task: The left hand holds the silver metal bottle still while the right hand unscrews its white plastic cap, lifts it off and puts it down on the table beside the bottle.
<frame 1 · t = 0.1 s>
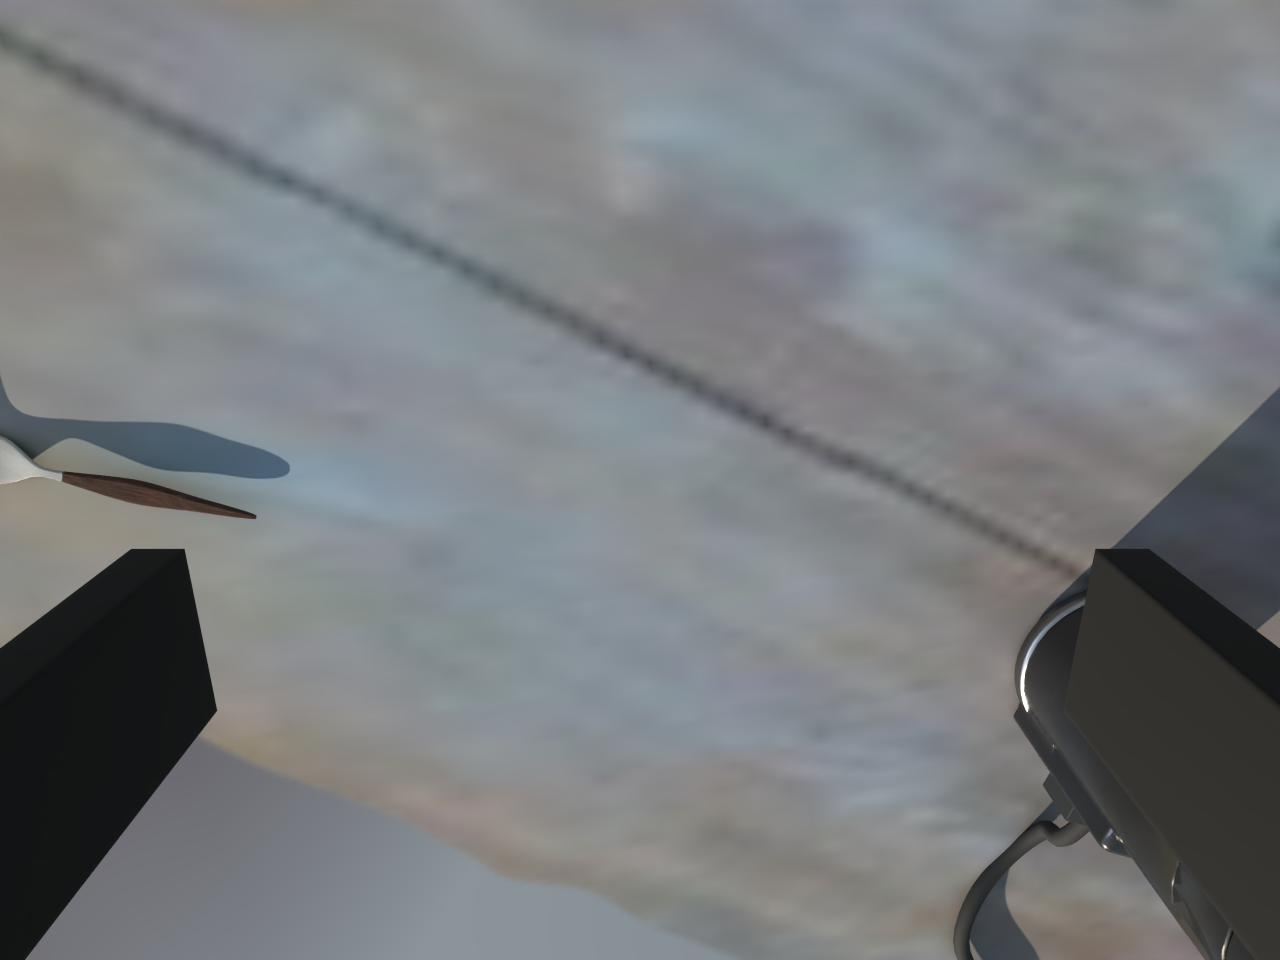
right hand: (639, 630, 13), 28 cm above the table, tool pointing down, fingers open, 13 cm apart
fork: (96, 476, 42), on the table
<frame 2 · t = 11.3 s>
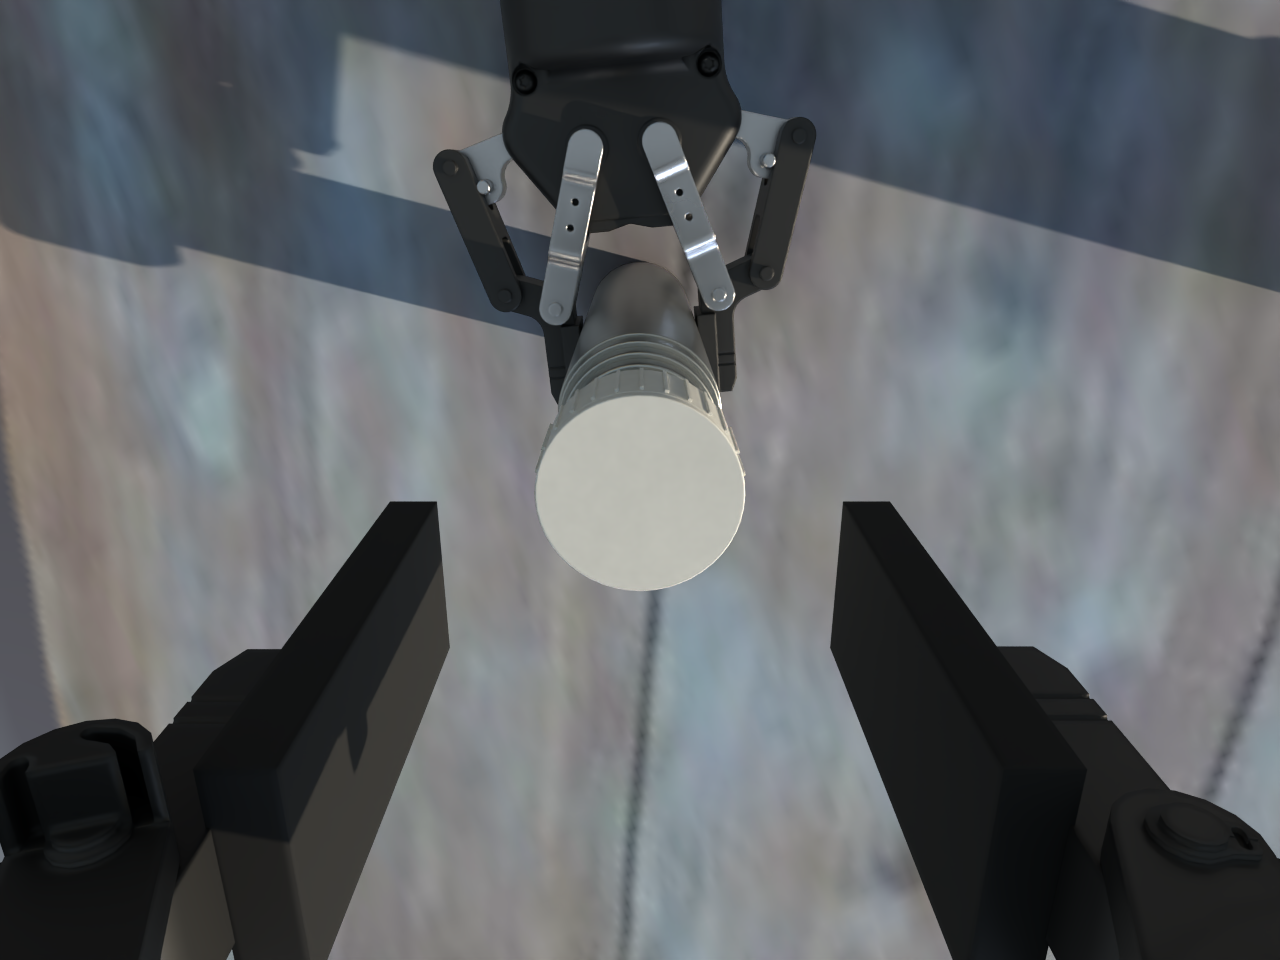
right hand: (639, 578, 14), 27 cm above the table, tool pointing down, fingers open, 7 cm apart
left hand: (646, 405, 34), fingers closed on bottle, 4 cm apart
bottle: (640, 311, 40), on the table, touching left hand
cap: (639, 492, 18), point 23 cm above the table, screwed on, not yet turned
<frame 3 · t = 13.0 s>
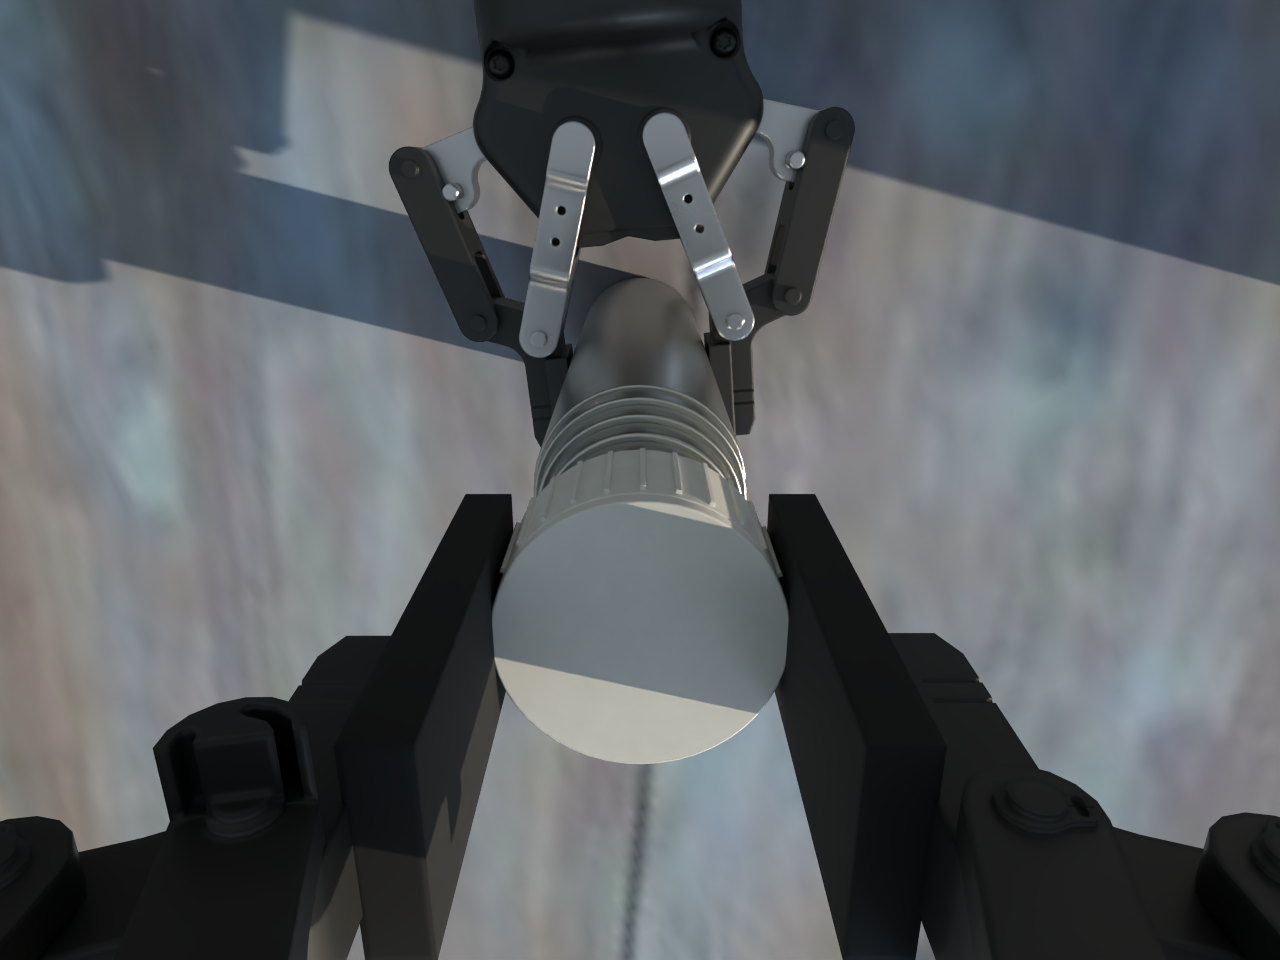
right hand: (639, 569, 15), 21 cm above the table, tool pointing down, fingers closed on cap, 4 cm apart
left hand: (647, 450, 29), fingers closed on bottle, 4 cm apart
bottle: (640, 334, 34), on the table, touching left hand
cap: (640, 630, 13), point 23 cm above the table, screwed on, not yet turned, touching right hand
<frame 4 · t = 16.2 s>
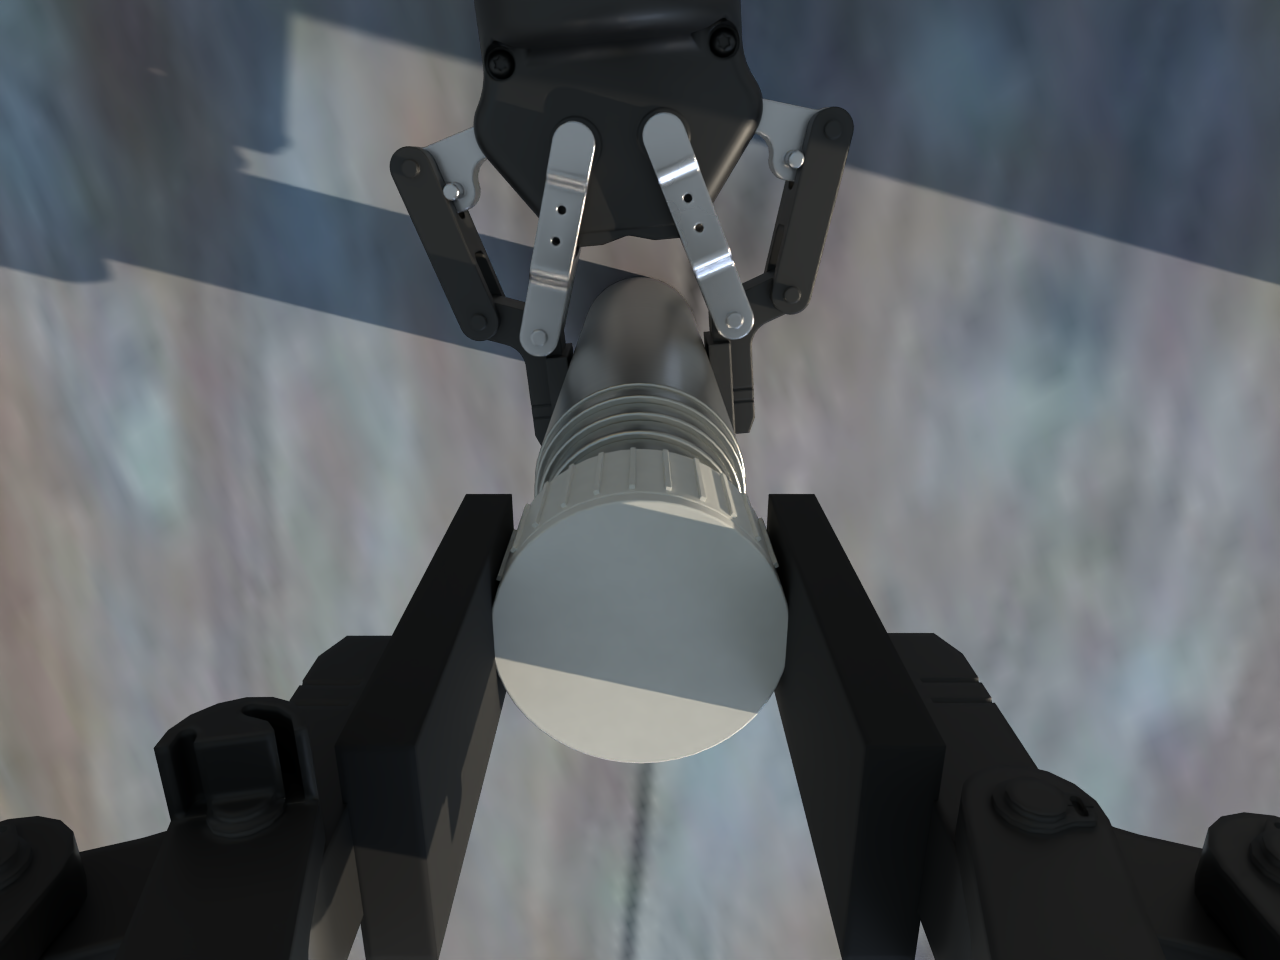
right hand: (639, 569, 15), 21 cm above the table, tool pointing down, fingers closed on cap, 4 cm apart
left hand: (647, 449, 29), fingers closed on bottle, 4 cm apart
bottle: (640, 333, 35), on the table, touching left hand
cap: (640, 629, 13), point 23 cm above the table, turned 97° so far, risen 0.1 cm, still on its thread, touching right hand
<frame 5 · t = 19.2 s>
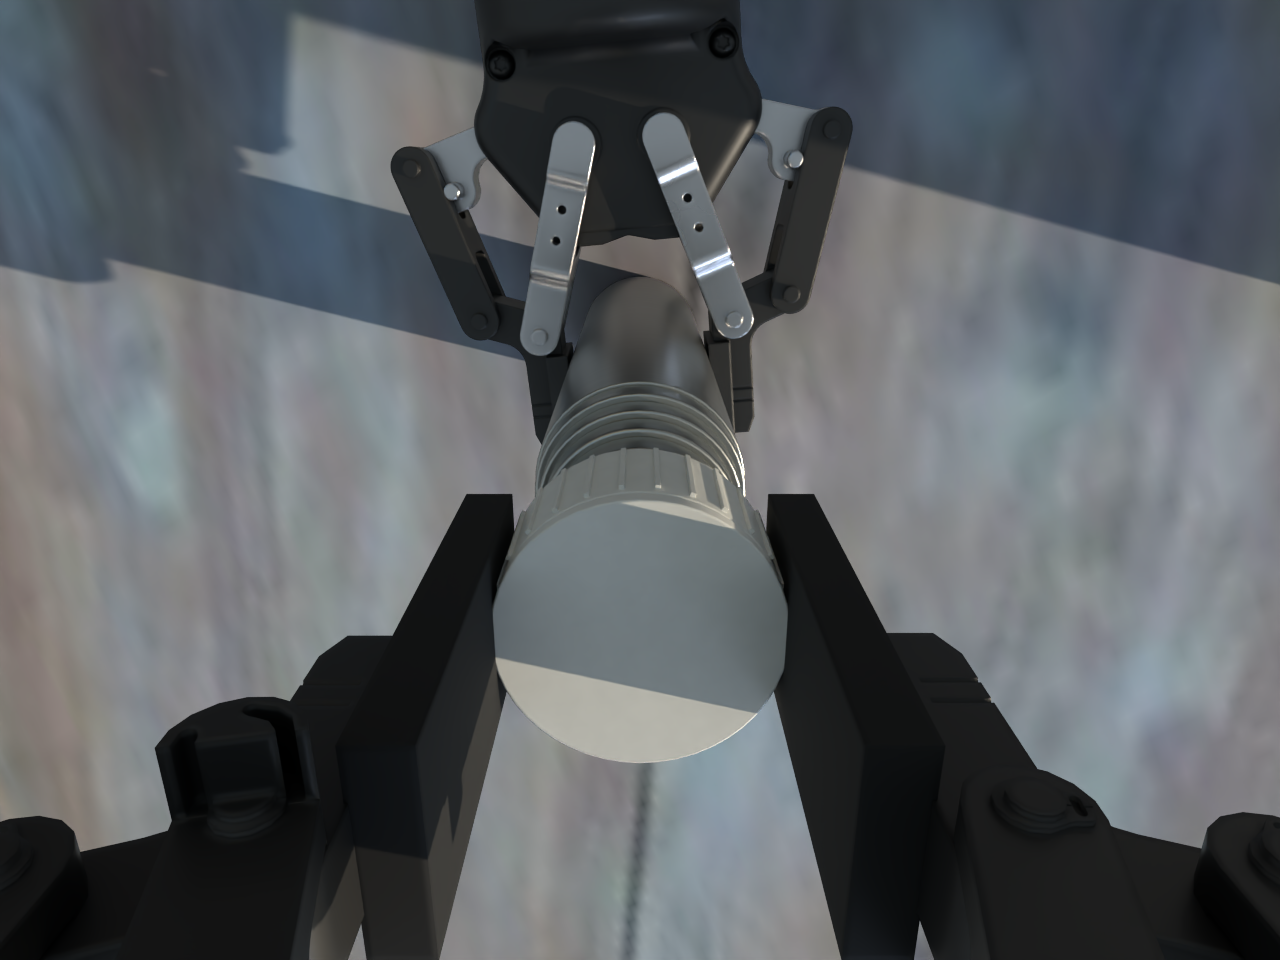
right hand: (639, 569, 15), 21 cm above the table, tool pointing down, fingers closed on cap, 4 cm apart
left hand: (647, 447, 29), fingers closed on bottle, 4 cm apart
bottle: (640, 333, 35), on the table, touching left hand
cap: (640, 629, 13), point 23 cm above the table, turned 194° so far, risen 0.2 cm, still on its thread, touching right hand
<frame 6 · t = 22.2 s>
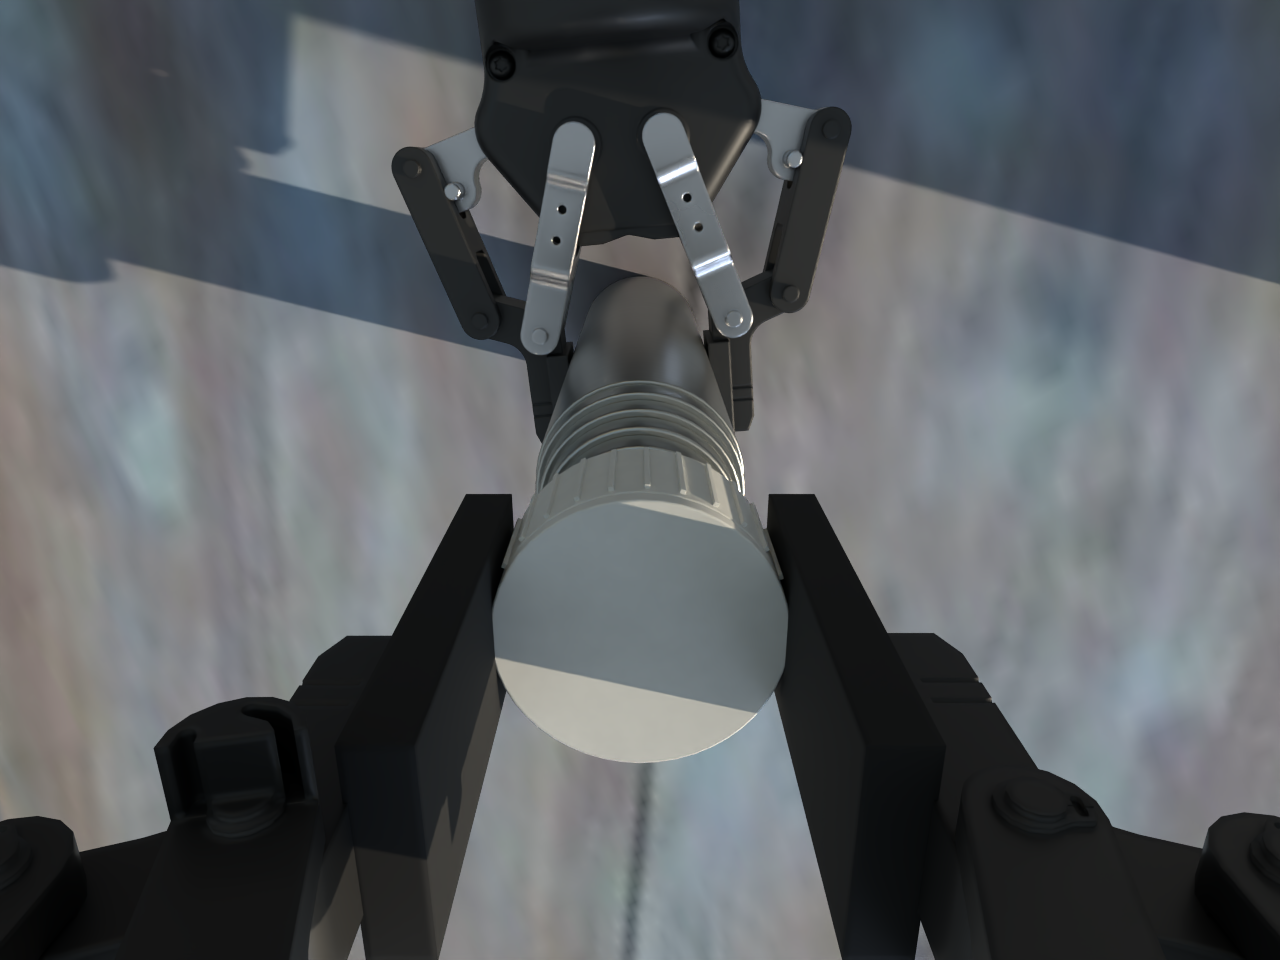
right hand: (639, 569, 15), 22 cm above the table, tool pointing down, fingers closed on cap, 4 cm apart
left hand: (648, 446, 29), fingers closed on bottle, 4 cm apart
bottle: (640, 332, 35), on the table, touching left hand
cap: (640, 629, 13), point 24 cm above the table, turned 292° so far, risen 0.3 cm, still on its thread, touching right hand
when the right hand's fingers open (1 cm above the table, at t = 29.6 s): cap drops 1 cm, point 2 cm above the table.
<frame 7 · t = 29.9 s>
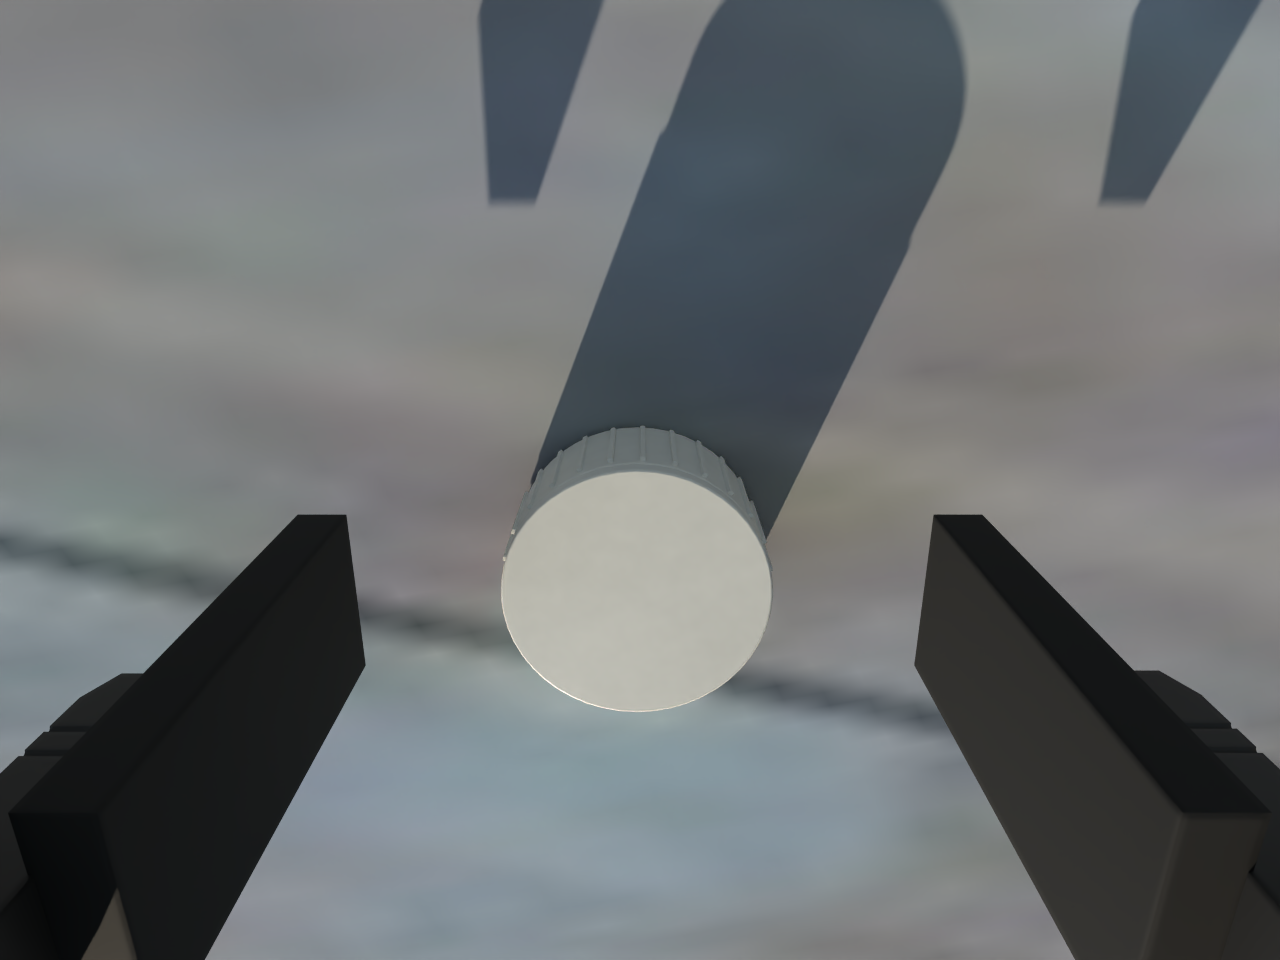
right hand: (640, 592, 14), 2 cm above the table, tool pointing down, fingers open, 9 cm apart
cap: (636, 589, 14), point 2 cm above the table, off its thread
when the left hand's fingers open (7 cm above the table, at t = 30.8 s): bottle stays where it is, on the table.
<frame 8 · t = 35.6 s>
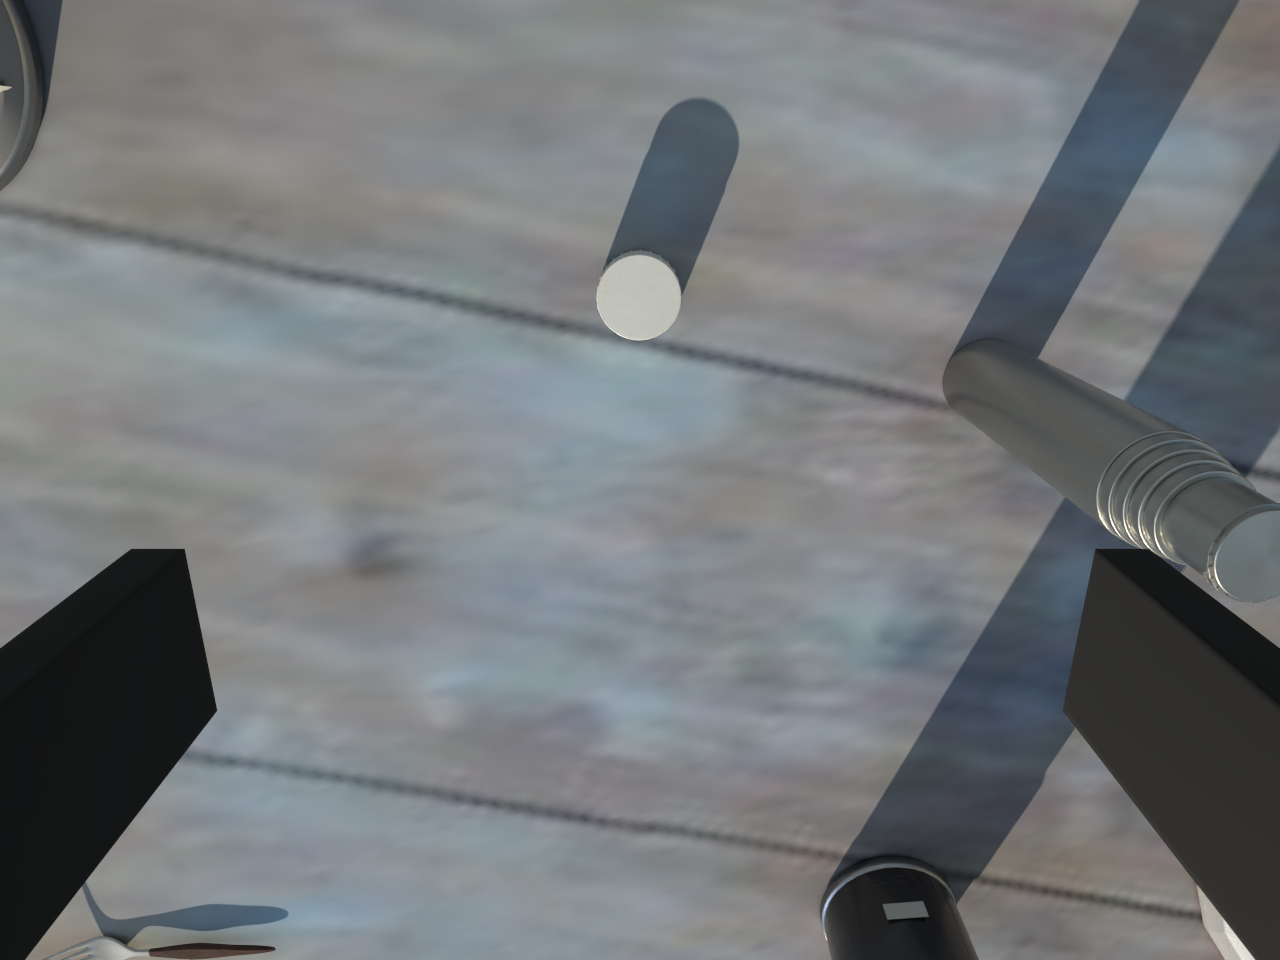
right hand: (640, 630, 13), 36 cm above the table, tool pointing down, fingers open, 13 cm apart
bottle: (983, 378, 48), on the table
cap: (639, 297, 44), point 2 cm above the table, off its thread
fork: (170, 944, 62), on the table
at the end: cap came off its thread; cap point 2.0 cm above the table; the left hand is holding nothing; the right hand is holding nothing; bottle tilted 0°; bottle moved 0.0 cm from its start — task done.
